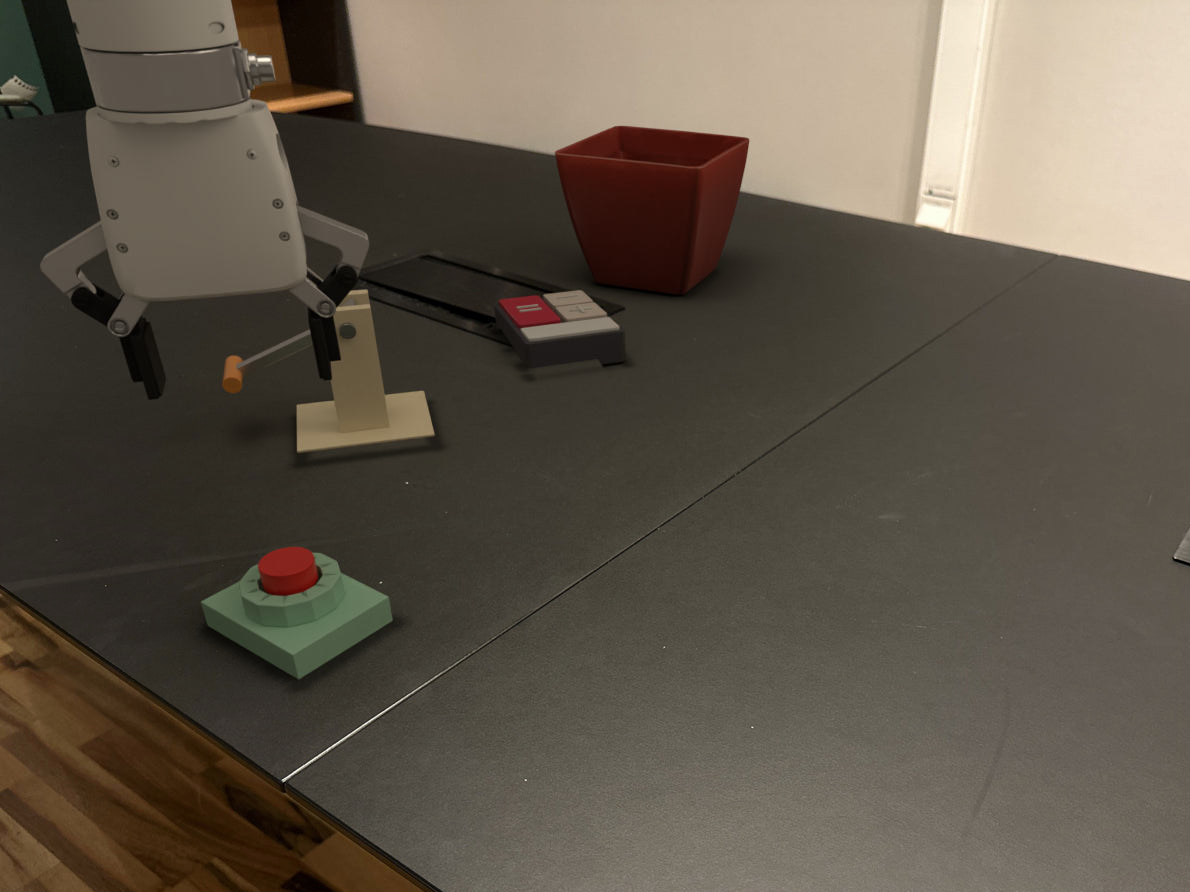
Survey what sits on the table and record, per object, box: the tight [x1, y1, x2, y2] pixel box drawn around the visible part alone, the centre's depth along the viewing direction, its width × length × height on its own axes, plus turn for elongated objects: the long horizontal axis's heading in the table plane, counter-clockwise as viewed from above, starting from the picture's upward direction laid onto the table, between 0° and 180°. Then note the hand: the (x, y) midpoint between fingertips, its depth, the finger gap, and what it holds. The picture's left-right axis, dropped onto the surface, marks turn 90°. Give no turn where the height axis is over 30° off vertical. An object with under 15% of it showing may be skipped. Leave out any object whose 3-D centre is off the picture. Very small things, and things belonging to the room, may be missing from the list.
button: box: [257, 546, 318, 596], centre depth 72 cm, size 4×4×2 cm
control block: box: [200, 552, 394, 680], centre depth 73 cm, size 10×8×4 cm
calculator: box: [493, 289, 627, 369], centre depth 118 cm, size 11×4×15 cm
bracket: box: [296, 289, 436, 454], centre depth 96 cm, size 12×10×13 cm
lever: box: [221, 298, 357, 394], centre depth 94 cm, size 13×5×2 cm, turn 109°
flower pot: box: [554, 125, 750, 295], centre depth 135 cm, size 19×19×17 cm
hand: (243, 381), depth 65 cm, fingers open, 9 cm apart
